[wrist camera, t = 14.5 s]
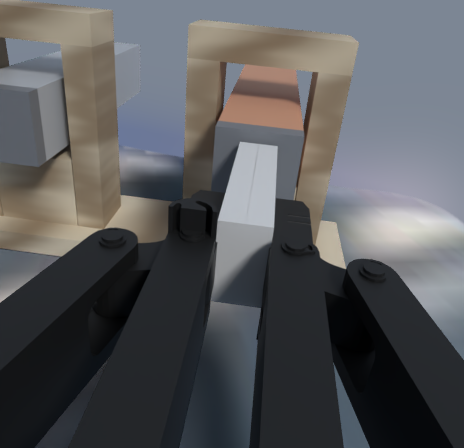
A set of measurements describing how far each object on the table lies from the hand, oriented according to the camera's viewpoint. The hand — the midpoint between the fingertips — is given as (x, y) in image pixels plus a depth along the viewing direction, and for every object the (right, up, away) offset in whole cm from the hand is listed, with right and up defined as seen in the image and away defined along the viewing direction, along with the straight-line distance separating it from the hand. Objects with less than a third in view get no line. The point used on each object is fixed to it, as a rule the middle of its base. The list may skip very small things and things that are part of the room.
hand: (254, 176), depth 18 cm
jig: (-6, -3, +9) cm, 11 cm away
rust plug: (+1, +3, +8) cm, 9 cm away
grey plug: (-11, +5, +10) cm, 16 cm away
